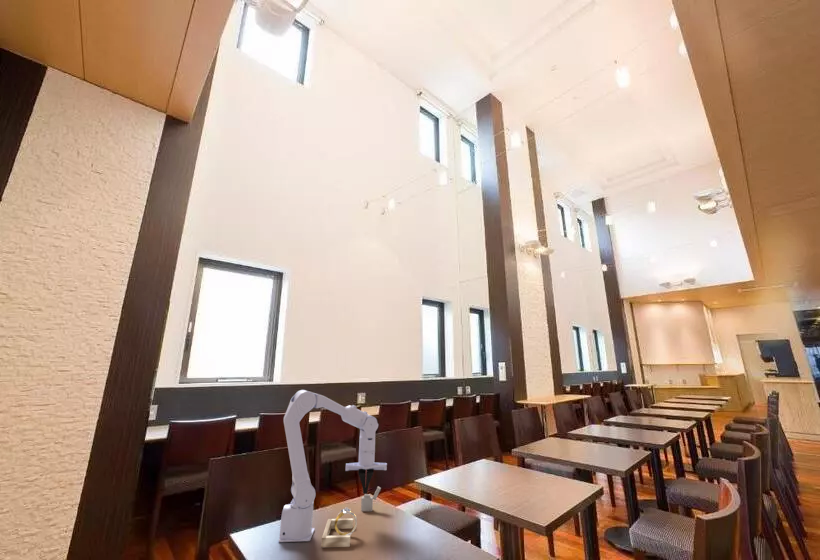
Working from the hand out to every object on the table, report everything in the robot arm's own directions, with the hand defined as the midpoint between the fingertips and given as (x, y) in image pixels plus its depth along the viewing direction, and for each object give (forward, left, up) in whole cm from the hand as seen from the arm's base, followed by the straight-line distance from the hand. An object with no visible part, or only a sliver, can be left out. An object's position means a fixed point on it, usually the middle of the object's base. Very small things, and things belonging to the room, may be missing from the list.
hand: (365, 492), depth 120 cm
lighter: (+2, +11, -10) cm, 15 cm away
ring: (-6, -9, -10) cm, 14 cm away
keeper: (-7, -9, -9) cm, 15 cm away
